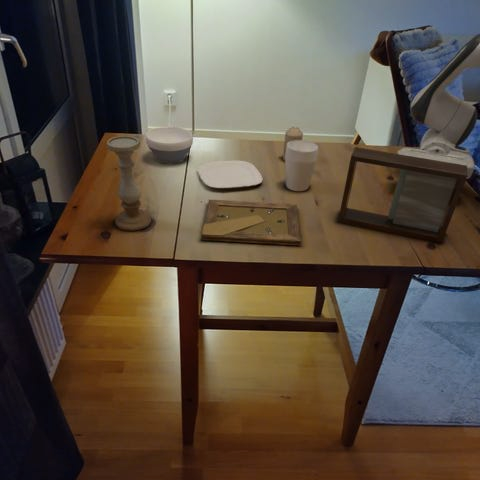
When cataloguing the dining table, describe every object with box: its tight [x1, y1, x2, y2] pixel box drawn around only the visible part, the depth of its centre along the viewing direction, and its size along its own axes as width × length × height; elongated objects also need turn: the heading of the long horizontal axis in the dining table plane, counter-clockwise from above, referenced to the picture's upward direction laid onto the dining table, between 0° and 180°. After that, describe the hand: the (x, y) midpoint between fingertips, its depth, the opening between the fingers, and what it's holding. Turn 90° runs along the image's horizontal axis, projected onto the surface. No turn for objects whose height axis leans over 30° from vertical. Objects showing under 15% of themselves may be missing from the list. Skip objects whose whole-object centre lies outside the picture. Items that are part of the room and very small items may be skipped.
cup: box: [284, 139, 319, 192], centre depth 132 cm, size 9×9×12 cm
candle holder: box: [105, 135, 152, 232], centre depth 109 cm, size 9×9×20 cm
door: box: [387, 169, 408, 219], centre depth 115 cm, size 4×11×14 cm, turn 70°
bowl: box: [145, 126, 194, 165], centre depth 145 cm, size 14×14×8 cm
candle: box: [282, 126, 304, 162], centre depth 147 cm, size 6×6×10 cm
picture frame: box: [201, 199, 302, 246], centre depth 117 cm, size 19×2×24 cm
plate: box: [196, 160, 264, 190], centre depth 137 cm, size 18×18×2 cm
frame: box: [337, 146, 468, 244], centre depth 114 cm, size 6×26×18 cm, turn 70°
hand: (433, 174), depth 122 cm, fingers open, 8 cm apart
